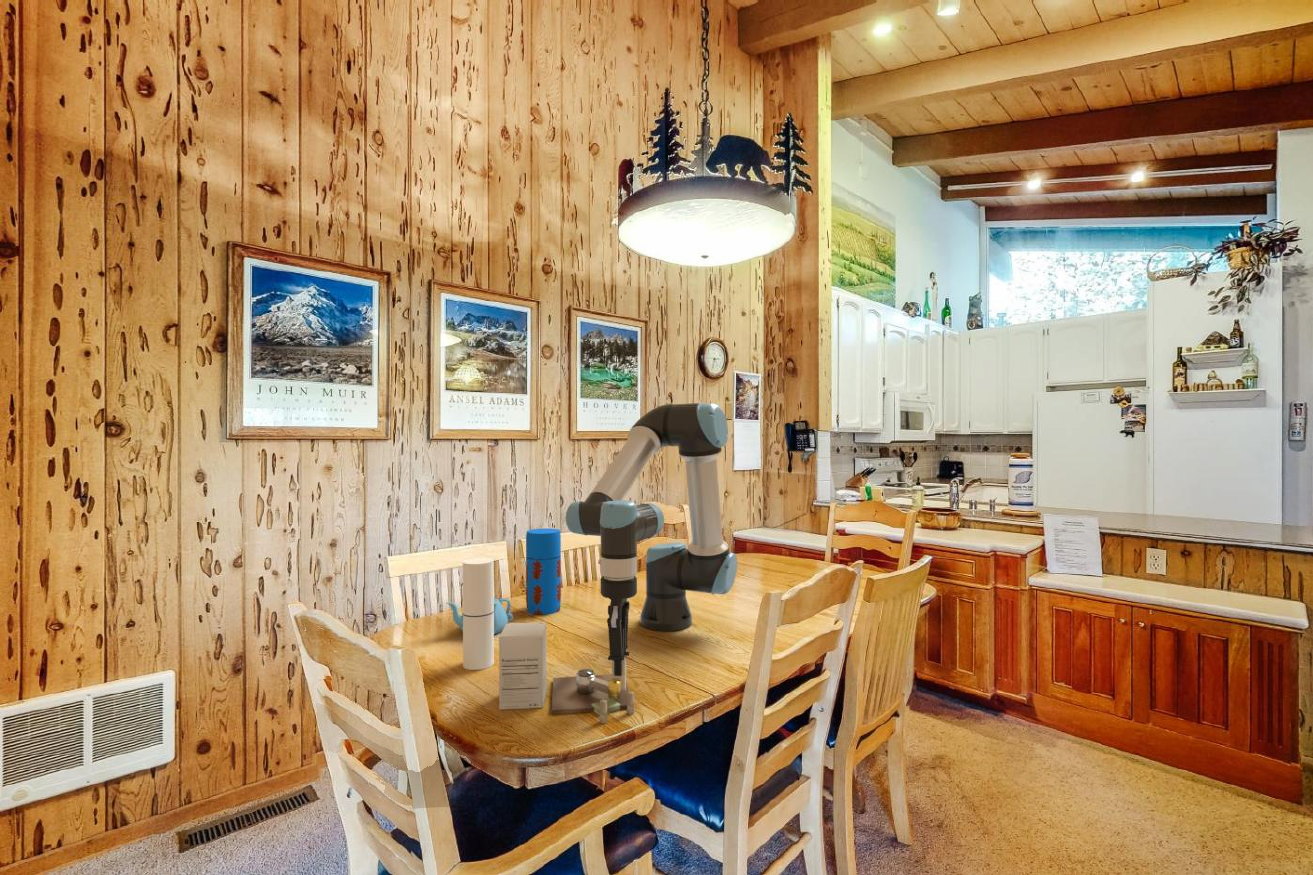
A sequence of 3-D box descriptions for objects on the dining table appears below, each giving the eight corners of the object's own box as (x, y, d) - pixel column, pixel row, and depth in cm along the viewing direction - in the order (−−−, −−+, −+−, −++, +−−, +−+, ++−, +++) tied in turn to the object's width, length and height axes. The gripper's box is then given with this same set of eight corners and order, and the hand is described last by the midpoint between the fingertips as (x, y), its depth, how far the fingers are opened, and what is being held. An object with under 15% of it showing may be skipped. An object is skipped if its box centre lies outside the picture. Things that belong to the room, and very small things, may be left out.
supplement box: (505, 691, 129) (505, 622, 129) (547, 689, 130) (547, 621, 130) (497, 710, 120) (497, 636, 120) (542, 708, 121) (542, 635, 121)
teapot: (519, 625, 175) (519, 589, 175) (494, 642, 160) (494, 603, 160) (474, 621, 178) (474, 587, 178) (445, 637, 163) (445, 600, 163)
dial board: (625, 676, 137) (625, 659, 137) (636, 721, 116) (636, 700, 116) (553, 681, 134) (553, 663, 134) (551, 727, 113) (551, 706, 113)
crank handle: (572, 689, 127) (572, 671, 127) (585, 683, 130) (585, 666, 130) (612, 705, 120) (612, 686, 120) (625, 698, 123) (625, 679, 123)
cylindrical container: (466, 672, 140) (465, 565, 140) (460, 661, 146) (460, 559, 146) (496, 666, 143) (496, 562, 143) (490, 656, 149) (490, 556, 149)
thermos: (553, 616, 183) (553, 534, 183) (520, 614, 185) (520, 533, 185) (565, 606, 193) (565, 528, 193) (534, 604, 196) (534, 527, 195)
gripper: (606, 568, 131) (607, 675, 131) (594, 583, 118) (594, 702, 119) (641, 569, 130) (641, 676, 130) (632, 584, 117) (632, 704, 118)
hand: (619, 688), depth 124 cm, fingers closed
